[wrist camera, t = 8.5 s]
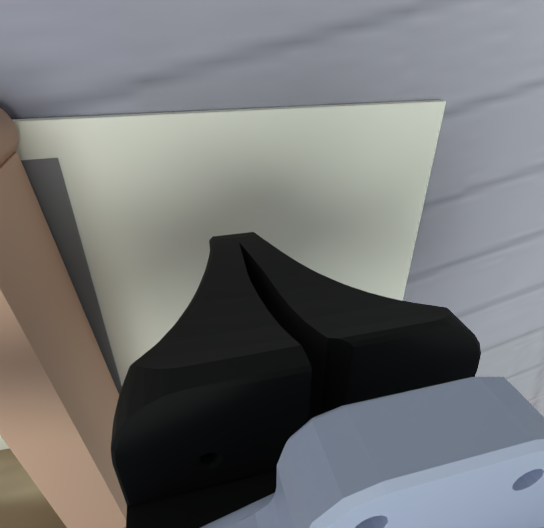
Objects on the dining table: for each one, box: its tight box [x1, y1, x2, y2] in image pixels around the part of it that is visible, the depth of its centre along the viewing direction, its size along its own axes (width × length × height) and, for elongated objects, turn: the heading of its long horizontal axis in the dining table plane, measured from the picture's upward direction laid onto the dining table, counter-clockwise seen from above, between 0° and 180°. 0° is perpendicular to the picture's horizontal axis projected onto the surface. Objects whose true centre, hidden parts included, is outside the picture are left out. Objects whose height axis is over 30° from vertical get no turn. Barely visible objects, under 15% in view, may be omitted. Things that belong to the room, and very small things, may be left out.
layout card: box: [0, 100, 446, 450], centre depth 16 cm, size 20×22×1 cm
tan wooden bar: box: [0, 108, 127, 528], centre depth 11 cm, size 2×12×5 cm, turn 4°
